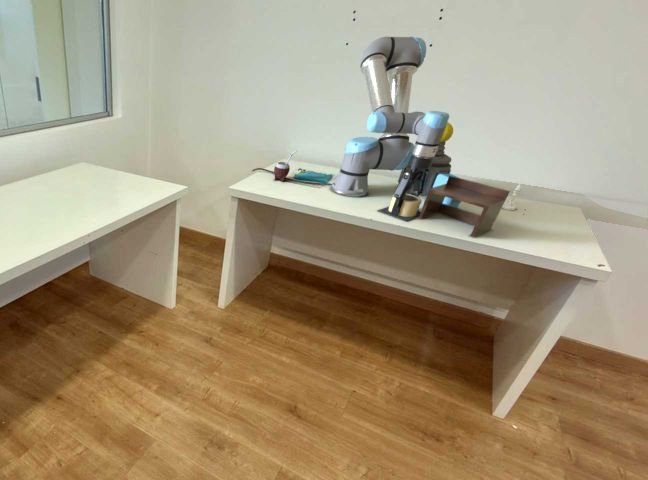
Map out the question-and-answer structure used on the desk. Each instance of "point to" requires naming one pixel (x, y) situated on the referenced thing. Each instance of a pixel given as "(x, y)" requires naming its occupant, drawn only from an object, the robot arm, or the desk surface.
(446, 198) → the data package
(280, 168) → the mate gourd
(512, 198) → the chess piece
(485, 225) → the desk shelf
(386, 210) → the desk mat
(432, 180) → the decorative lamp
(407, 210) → the tape roll
